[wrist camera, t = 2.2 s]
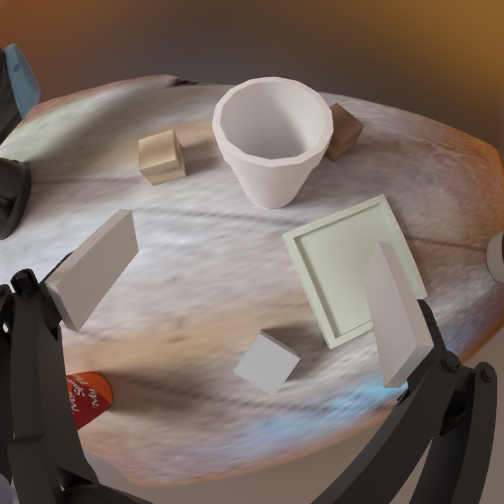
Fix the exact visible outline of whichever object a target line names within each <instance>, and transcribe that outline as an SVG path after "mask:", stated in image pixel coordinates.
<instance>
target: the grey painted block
mask: <svg viewBox="0 0 504 504" xmlns="http://www.w3.org/2000/svg"><path fill="white" fill-rule="evenodd" d="M299 360H300V357H299V356H298V354H297V353H296V351H295V350H293V349H291V348H290V347H288V346H286V345H285V344H283V343H281V342H280V341H278V340H277V339H275V338H273V337H272V336H270V335H269V334H267V333H265V332H264V331H262V330H260V331H259V333H258V334H257V336H256V337H255V339H254V340H253V342H252V343H251V345H250V346H249V348H248V349H247V351H246V352H245V354H244V355H243V356H242V358H241V359H240V361H239V362H238V364H237V366H236V368H235V370H234V373H235V374H237V375H238V376H240V377H242V378H243V379H245V380H246V381H248V382H250V383H251V384H253V385H255V386H256V387H258V388H260V389H261V390H263V391H265V392H267V393H268V394H270V395H272V396H274V395H275V394H276V392H277V391H278V390H279V388H280V387H281V386H282V384H283V383H284V381H285V380H286V379H287V377H288V376H289V374H290V373H291V372H292V370H293V369H294V367H295V366H296V364H297V363H298V361H299Z"/></svg>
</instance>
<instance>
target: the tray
mask: <svg viewBox="0 0 504 504" xmlns="http://www.w3.org/2000/svg"><path fill="white" fill-rule="evenodd" d="M282 240H283V242H284V244H285V247H286V249H287V251H288V253H289V256H290V258H291V260H292V263H293V265H294V267H295V270H296V272H297V274H298V277H299V279H300V281H301V284H302V286H303V289H304V291H305V293H306V296H307V298H308V301H309V303H310V305H311V308H312V310H313V313H314V315H315V318H316V320H317V323H318V325H319V328H320V330H321V333H322V335H323V338H324V340H325V343H326V345H327V347H329V348H330V349H332V348H334V347H336V346H339V345H341V344H343V343H345V342H347V341H349V340H351V339H353V338H355V337H357V336H359V335H361V334H363V333H364V332H366V331H368V330H370V329H372V328H373V323H372V319H371V314H370V310H369V306H368V301H367V297H366V293H365V289H364V285H363V282H364V279H365V276H366V274H367V271H368V268H369V265H370V263H371V260H372V257H373V254H374V251H375V248H376V245H377V242H378V241H381V242H387V243H391V244H392V246H393V248H394V250H395V252H396V254H397V257H398V259H399V261H400V263H401V265H402V267H403V269H404V271H405V274H406V276H407V278H408V280H409V282H410V285H411V287H412V289H413V292H414V294H415V296H416V299H423V298H425V297H427V296H428V295H427V292H426V290H425V287H424V284H423V281H422V279H421V276H420V274H419V271H418V268H417V266H416V263H415V261H414V259H413V256H412V254H411V251H410V249H409V247H408V244H407V242H406V240H405V238H404V235H403V233H402V231H401V229H400V227H399V225H398V223H397V220H396V218H395V216H394V214H393V212H392V210H391V208H390V206H389V204H388V202H387V200H386V199H385V197H384V195H383V194H381V195H379V196H376V197H374V198H371V199H369V200H366V201H364V202H361V203H359V204H356V205H354V206H351V207H349V208H346V209H344V210H341V211H339V212H336V213H334V214H331V215H329V216H326V217H324V218H321V219H319V220H316V221H314V222H311V223H309V224H306V225H304V226H301V227H299V228H296V229H294V230H291V231H289V232H286V233H284V234H283V236H282Z"/></svg>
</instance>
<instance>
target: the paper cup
mask: <svg viewBox="0 0 504 504" xmlns="http://www.w3.org/2000/svg"><path fill="white" fill-rule="evenodd" d="M66 379H67V386H68V391H69V397H70V402H71V407H72V412H73V416H74V420H75V424H76V428H77V431H78V430H79V429H81V428H82V427H83V426H85V425H86V424H88V423H89V422H91V421H92V420H93V419H95V418H96V417H98V416H99V415H100V414H102V413H103V412H104V411H106V410H107V409H108V408H109V407H110V406H111V404H112V401H113V394H112V390H111V387H110V385H109V384H108V382H107V381H106V379H105V378H104V377H103V376H101V375H100V374H98V373H96V372H84V373H78V374H72V375H67V376H66Z"/></svg>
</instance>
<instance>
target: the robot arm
mask: <svg viewBox="0 0 504 504" xmlns="http://www.w3.org/2000/svg"><path fill="white" fill-rule="evenodd" d="M39 98H40V89H39V86H38V83H37V81H36V79H35V76H34V74H33V72H32V70H31V68H30V66H29V64H28V63H27V61H26V59H25V58H24V56H23V54H22V52H21V51H20V50H19V48H18V47H17V46H16V45H15V44H11V45H9V46H7V47H6V48H5V50H4V51H3V50H2V49H1V48H0V145H1V144H2V143H3V142H4V140H5V139H6V138H7V137H8V136H9V134H10V133H11V132H12V131H13V130H14V129H15V127H16V126H17V125H18V124H19V123H20V122H21V121H22V120H24V119H25V117H26V115H27V114H28V113H29V112H30V111H31V110H32V109H33V108H34V106H35V105H36V104H37V103H38V101H39ZM30 185H31V175H30V171H29V169H28V167H27V166H26V165H24V164H23V163H21V162H20V161H17V160H9V159H5V158H0V240H2V239H4V238H6V237H7V236H8V235H9V234H10V233H11V232H12V231H13V230H14V228H15V227H16V225H17V224H18V222H19V220H20V218H21V216H22V214H23V211H24V209H25V206H26V203H27V200H28V196H29V191H30ZM138 252H139V251H138V246H137V240H136V235H135V229H134V223H133V216H132V210H123V209H120V210H119V211H118V212H117V213H116V214H114V215H113V216H112V217H111V218H110V219H109V220H108V221H106V222H105V223H104V224H103V225H102V226H101V227H100V228H99V229H97V230H96V231H95V232H94V233H93V234H92V235H91V236H90V237H89V238H88V239H87V240H85V241H84V242H83V243H82V244H81V245H80V246H79V247H78V248H77V249H76V250H75V251H73V252H71V253H70V254H68V255H66V256H65V257H64V258H63V259H62V260H61V261H60V263H58V264H57V265H56V266H55V268H54V269H53V270H52V271H51V272H50V273H49V274H48V275H47V276H46V277H45V278H44V279H43V280H42V281H41V282H40V283H39V284H38V281H37V279H36V277H35V274H34V272H33V271H32V270H31V269H23V270H21V271H19V272H17V273H16V274H15V275H14V276H13V277H12V279H11V281H10V282H11V284H12V286H13V288H14V290H15V292H16V293H12V291H11V289H10V287H9V286H8V285H7V284H3V285H0V504H13V501H12V500H17V499H19V503H20V504H153V503H151V502H149V501H146V500H144V499H141V498H139V497H136V496H133V495H131V494H129V493H126V492H123V491H119V490H117V489H113V488H110V487H108V486H105V485H102V484H100V483H99V481H98V478H97V476H96V474H95V472H94V470H93V468H92V467H91V466H90V464H89V463H88V462H87V460H86V458H85V456H84V453H83V450H82V446H81V443H80V440H79V436H78V432H77V428H76V424H75V420H74V416H73V412H72V407H71V402H70V397H69V391H68V386H67V379H66V372H65V365H64V356H63V347H62V334H61V327H60V325H59V323H60V321H61V320H63V322H64V324H65V325H66V327H67V328H68V329H71V330H73V331H76V332H79V331H80V329H81V328H82V326H83V325H84V323H85V322H86V321H87V319H88V318H89V316H90V315H91V313H92V312H93V311H94V309H95V308H96V306H97V305H98V304H99V302H100V301H101V300H102V298H103V297H104V295H105V294H106V293H107V291H108V290H109V289H110V287H111V286H112V285H113V284H114V282H115V281H116V280H117V278H118V277H119V276H120V274H121V273H122V272H123V271H124V269H125V268H126V267H127V266H128V264H129V263H130V262H131V261H132V259H133V258H134V257H135V256H136V254H137V253H138ZM363 285H364V289H365V293H366V297H367V301H368V306H369V310H370V314H371V319H372V323H373V328H374V333H375V338H376V343H377V348H378V354H379V359H380V365H381V371H382V377H383V384H384V388H397V387H401V386H402V385H403V383H404V382H405V381H406V380H407V382H408V389H407V390H406V391H405V392H404V393H403V394H402V395H401V396H400V397H399V398H398V399H397V401H398V403H397V404H396V406H395V407H394V409H393V410H392V412H391V413H390V415H389V416H388V417H387V419H386V420H385V422H384V423H383V424H382V426H381V427H380V429H379V430H378V431H377V432H376V434H375V435H374V436H373V438H372V439H371V440H370V441H369V443H368V444H367V445H366V446H365V448H364V449H363V450H362V451H361V452H360V454H359V455H358V456H357V457H356V458H355V459H354V460H353V462H352V463H351V464H350V465H349V466H348V467H347V468H346V470H344V472H343V473H342V474H341V475H340V476H339V477H338V478H337V479H336V480H335V481H334V482H333V483H332V484H331V485H330V486H329V487H328V488H327V489H326V490H325V491H324V492H323V493H322V494H321V495H320V496H318V497H317V498H316V499H315V500H314V501H313V502H312V503H311V504H389V503H390V502H391V501H392V499H393V498H394V496H395V495H396V494H397V493H398V491H399V490H400V489H401V487H402V486H403V484H404V483H405V482H406V480H407V479H408V477H409V476H410V474H411V473H412V471H413V470H414V468H415V466H416V465H417V463H418V461H419V460H420V458H421V457H422V455H423V453H424V452H425V450H426V448H427V446H428V445H429V443H430V441H431V439H432V437H433V439H432V443H431V446H430V449H429V453H428V456H427V459H426V462H425V465H424V468H423V470H422V473H421V476H420V478H419V481H418V484H417V486H416V488H415V491H414V493H413V496H412V498H411V500H410V502H409V504H479V501H480V498H481V495H482V491H483V488H484V484H485V480H486V476H487V471H488V467H489V462H490V456H491V451H492V445H493V438H494V430H495V420H496V407H497V406H496V405H497V375H496V372H495V370H494V368H493V367H492V366H491V365H490V364H488V363H487V362H480V363H479V364H478V365H477V366H476V367H475V368H474V369H472V368H469V367H465V366H462V365H461V362H460V360H459V359H458V357H457V356H456V355H455V354H454V353H452V352H450V351H447V350H446V347H445V344H444V341H443V339H442V336H441V333H440V331H439V328H438V326H437V325H436V324H437V323H436V321H435V318H434V316H433V313H432V311H431V309H430V307H429V306H428V305H427V303H426V302H425V301H424V300H423V299H416V296H415V294H414V292H413V289H412V287H411V285H410V282H409V280H408V278H407V276H406V274H405V271H404V269H403V267H402V265H401V263H400V261H399V259H398V257H397V254H396V252H395V250H394V248H393V246H392V244H391V243H387V242H381V241H378V242H377V245H376V248H375V251H374V254H373V257H372V260H371V263H370V265H369V268H368V271H367V274H366V276H365V279H364V282H363ZM4 323H5V325H6V326H7V328H8V331H7V333H6V332H5V331H4V329H3V324H4ZM14 433H15V438H14ZM12 477H13V481H14V485H15V488H14V487H12V486H11V481H12ZM60 485H61V486H62V487H63V488H64V489H65V490H64V491H62V490H61V487H60Z"/></svg>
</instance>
